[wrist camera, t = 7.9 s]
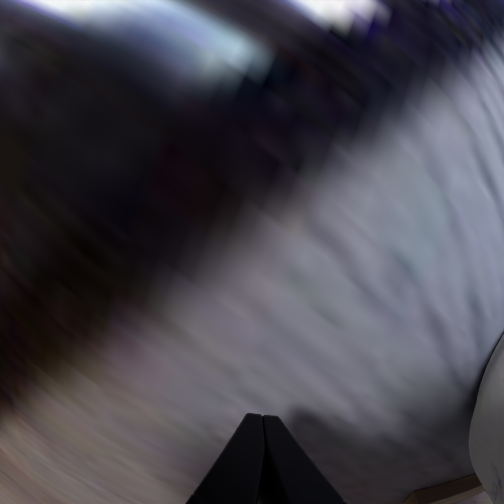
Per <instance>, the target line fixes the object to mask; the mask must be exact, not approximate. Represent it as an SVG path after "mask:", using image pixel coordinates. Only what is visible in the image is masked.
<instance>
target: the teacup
mask: <svg viewBox="0 0 504 504" xmlns="http://www.w3.org/2000/svg"><path fill="white" fill-rule="evenodd" d="M469 453H470V459H471V463H472V466H473V468H474V470H475V472H476V475H477V477H478V478H479V480H480V482H481V484H482V485H483V487H484V489H485V490H486V492H487V493H488V495H489V496H490V498H491V500H492V501H493V503H494V504H504V334H503V336H502V337H501V339H500V341H499V343H498V344H497V346H496V348H495V350H494V352H493V354H492V356H491V358H490V360H489V363H488V365H487V367H486V370H485V373H484V375H483V378H482V381H481V384H480V387H479V391H478V395H477V401H476V406H475V409H474V413H473V416H472V420H471V425H470V432H469Z"/></svg>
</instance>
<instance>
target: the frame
mask: <svg viewBox="0 0 504 504" xmlns="http://www.w3.org/2000/svg"><path fill="white" fill-rule="evenodd" d="M484 491H486V490H485V489H484V487H483V485H482V484H481V482H480V480H479V478H478V477H477V475H476V474H473V475H470V476H467V477H464V478H461V479H458V480H455V481H452V482H448V483H445V484H441V485H438V486H434V487H430V488H426V489H422V490H418V491H414V492H413V493H412V494H411V495H410V496H409V498H408V499H407V500H406V501H405V502H404V503H405V504H453V503H456V502H458V501H461V500H464V499H466V498H469V497H471V496H474V495H476V494H479V493H481V492H484Z"/></svg>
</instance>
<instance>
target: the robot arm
mask: <svg viewBox="0 0 504 504" xmlns="http://www.w3.org/2000/svg"><path fill="white" fill-rule="evenodd" d="M185 504H347V503H346V502H343V499H342V497H341V496H340V495H339V494H338V493H337V491H336V490H335V489H334V488H333V487H332V485H331V484H330V483H329V482H328V480H327V479H326V478H325V477H324V475H323V474H322V473H321V472H320V470H319V469H318V468H317V467H316V465H315V464H314V463H313V462H312V460H311V459H310V458H309V457H308V455H307V454H306V453H305V451H304V450H303V449H302V447H301V446H300V445H299V443H298V442H297V441H296V440H295V438H294V437H293V436H292V434H291V433H290V432H289V430H288V429H287V427H286V426H285V425H284V423H283V422H282V421H281V419H280V418H279V417H278V416H272V415H263V416H262V415H261V414H254V413H247V414H246V415H245V417H244V418H243V420H242V422H241V423H240V425H239V426H238V428H237V429H236V431H235V433H234V434H233V436H232V437H231V439H230V440H229V442H228V443H227V445H226V446H225V448H224V449H223V451H222V452H221V454H220V455H219V457H218V458H217V460H216V461H215V463H214V464H213V466H212V467H211V469H210V470H209V472H208V473H207V475H206V476H205V477H204V479H203V480H202V482H201V483H200V484H199V486H198V487H197V489H196V490H195V491H194V494H192V495H191V497H190V498H189V499H188V501H187V502H186V503H185Z"/></svg>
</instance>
